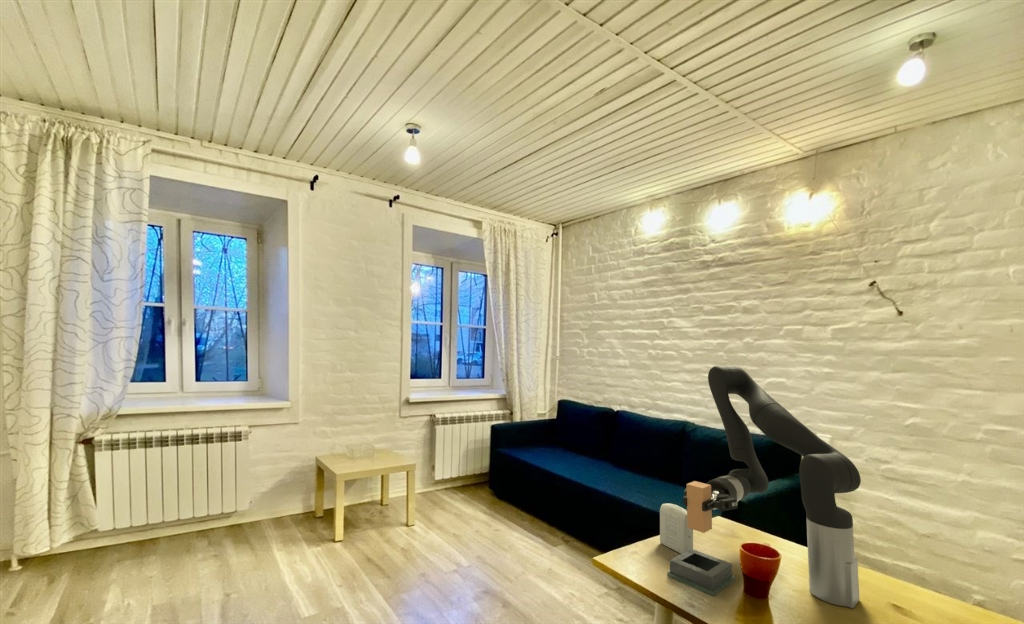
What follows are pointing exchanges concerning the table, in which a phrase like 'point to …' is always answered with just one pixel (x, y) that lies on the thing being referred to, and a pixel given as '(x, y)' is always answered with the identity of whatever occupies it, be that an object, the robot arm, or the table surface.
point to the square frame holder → (701, 571)
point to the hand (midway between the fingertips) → (694, 504)
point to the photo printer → (675, 528)
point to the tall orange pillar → (698, 506)
